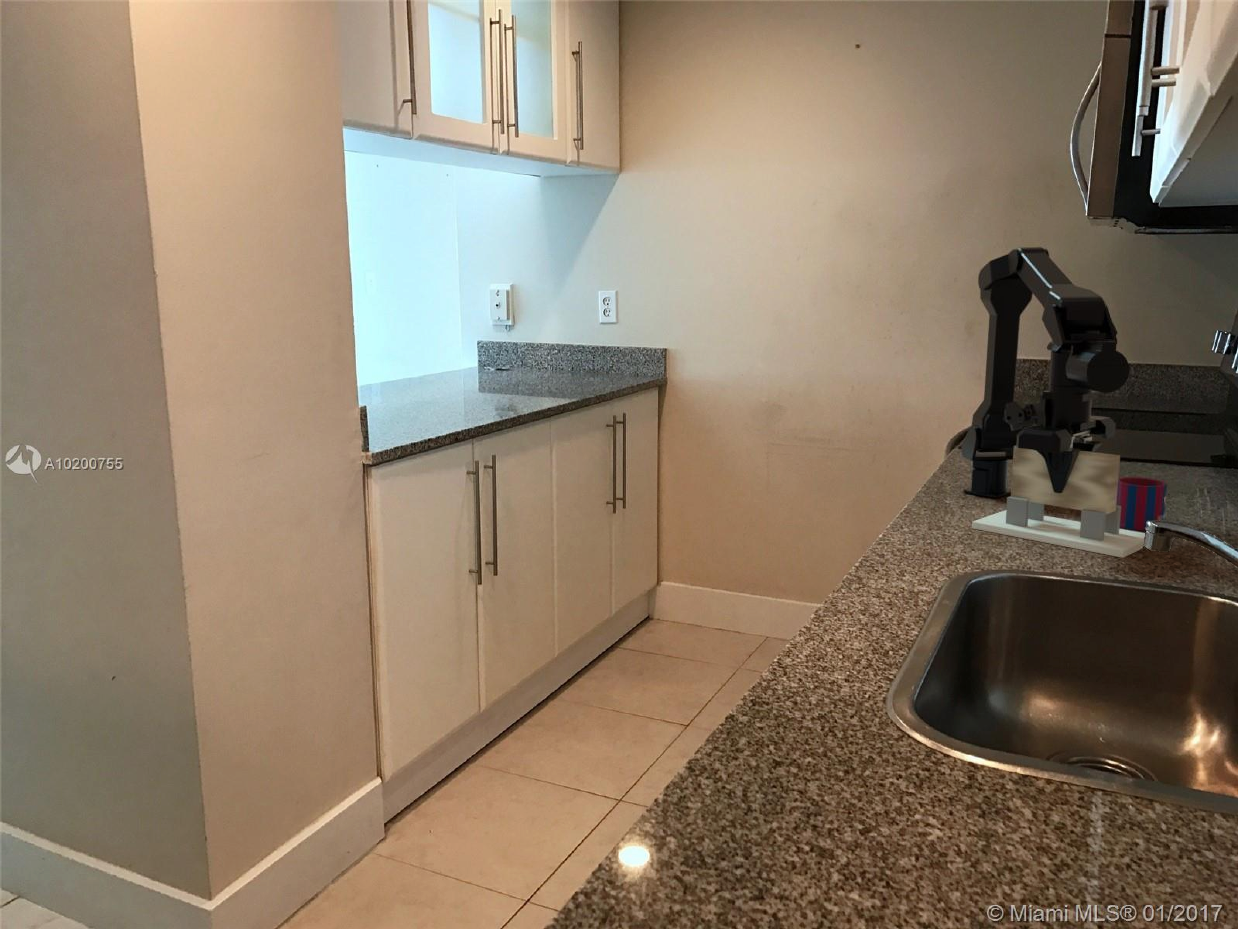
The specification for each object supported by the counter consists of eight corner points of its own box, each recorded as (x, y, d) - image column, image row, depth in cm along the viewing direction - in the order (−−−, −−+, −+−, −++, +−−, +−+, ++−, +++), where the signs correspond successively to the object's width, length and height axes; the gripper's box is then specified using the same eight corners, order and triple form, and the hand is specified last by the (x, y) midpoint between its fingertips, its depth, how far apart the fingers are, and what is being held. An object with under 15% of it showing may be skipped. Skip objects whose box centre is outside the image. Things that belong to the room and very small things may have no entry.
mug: (1159, 533, 141) (1163, 488, 139) (1085, 524, 147) (1088, 480, 145) (1166, 523, 146) (1170, 480, 145) (1095, 515, 152) (1098, 473, 151)
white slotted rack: (1007, 515, 153) (1009, 484, 152) (1155, 541, 136) (1158, 507, 135) (971, 528, 146) (973, 496, 145) (1123, 557, 129) (1125, 521, 128)
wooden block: (1118, 509, 137) (1122, 454, 135) (1106, 514, 134) (1111, 458, 133) (1022, 494, 147) (1026, 443, 145) (1010, 498, 145) (1013, 446, 143)
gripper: (1045, 375, 149) (1039, 473, 152) (984, 386, 137) (978, 492, 140) (1120, 380, 140) (1112, 484, 143) (1062, 392, 129) (1054, 505, 132)
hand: (1063, 491), depth 140 cm, fingers closed on wooden block, 3 cm apart
